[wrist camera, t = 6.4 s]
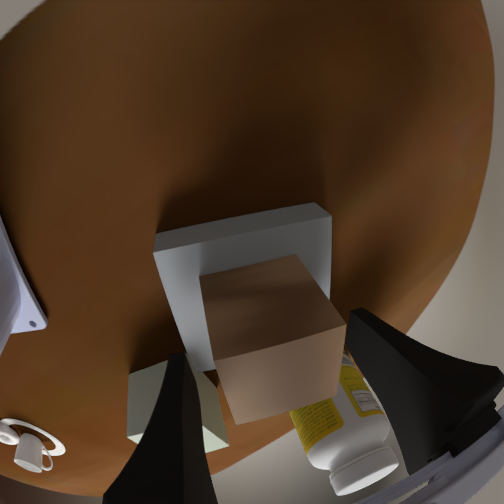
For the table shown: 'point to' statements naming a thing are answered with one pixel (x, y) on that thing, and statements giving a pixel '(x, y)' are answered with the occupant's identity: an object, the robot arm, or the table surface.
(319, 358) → the walnut block
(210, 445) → the sage block
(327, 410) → the supplement bottle
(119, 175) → the table surface
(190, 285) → the slate slab
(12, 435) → the teacup and saucer
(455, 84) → the table surface
